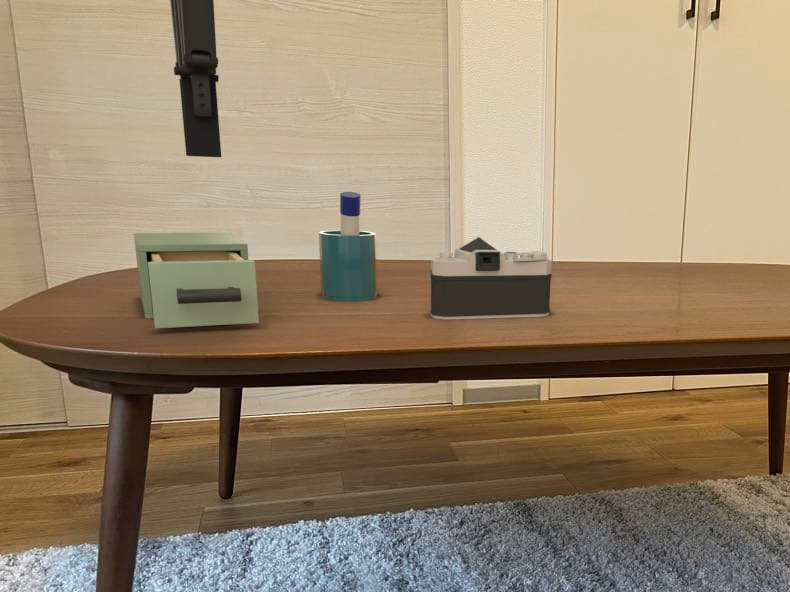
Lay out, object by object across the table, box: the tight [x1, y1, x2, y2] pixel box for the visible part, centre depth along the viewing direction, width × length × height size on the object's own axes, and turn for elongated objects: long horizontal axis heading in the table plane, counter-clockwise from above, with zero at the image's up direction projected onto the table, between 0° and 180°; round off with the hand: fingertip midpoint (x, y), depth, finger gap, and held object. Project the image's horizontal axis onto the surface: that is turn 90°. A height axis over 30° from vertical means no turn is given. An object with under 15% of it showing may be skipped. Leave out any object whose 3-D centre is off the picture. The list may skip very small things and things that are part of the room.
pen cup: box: [318, 230, 378, 302], centre depth 107 cm, size 7×7×9 cm
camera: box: [430, 236, 553, 320], centre depth 100 cm, size 16×9×10 cm, turn 111°
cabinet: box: [133, 232, 249, 319], centre depth 96 cm, size 14×12×9 cm
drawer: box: [148, 251, 260, 329], centre depth 86 cm, size 17×10×7 cm, turn 28°
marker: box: [339, 191, 362, 235], centre depth 104 cm, size 3×3×14 cm
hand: (203, 156), depth 71 cm, fingers closed
